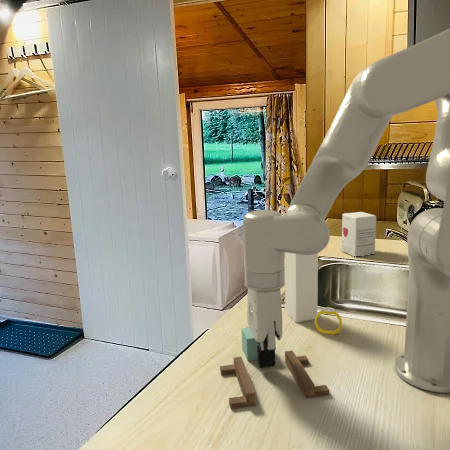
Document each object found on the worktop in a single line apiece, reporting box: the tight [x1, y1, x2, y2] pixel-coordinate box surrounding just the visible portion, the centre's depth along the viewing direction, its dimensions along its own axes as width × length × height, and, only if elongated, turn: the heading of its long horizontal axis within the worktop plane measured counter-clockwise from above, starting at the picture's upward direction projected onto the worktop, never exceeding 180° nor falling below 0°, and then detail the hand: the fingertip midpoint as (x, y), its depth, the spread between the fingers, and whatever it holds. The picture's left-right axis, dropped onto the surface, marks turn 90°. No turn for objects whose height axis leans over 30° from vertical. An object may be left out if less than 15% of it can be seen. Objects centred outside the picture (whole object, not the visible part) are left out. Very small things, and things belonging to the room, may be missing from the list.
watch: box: [314, 306, 343, 336], centre depth 96 cm, size 6×3×6 cm, turn 72°
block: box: [241, 326, 258, 362], centre depth 88 cm, size 5×5×5 cm
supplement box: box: [341, 211, 377, 258], centre depth 155 cm, size 9×9×15 cm
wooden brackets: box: [219, 349, 330, 410], centre depth 78 cm, size 18×12×2 cm
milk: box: [284, 252, 319, 323], centre depth 103 cm, size 6×6×22 cm
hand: (266, 365), depth 82 cm, fingers closed
